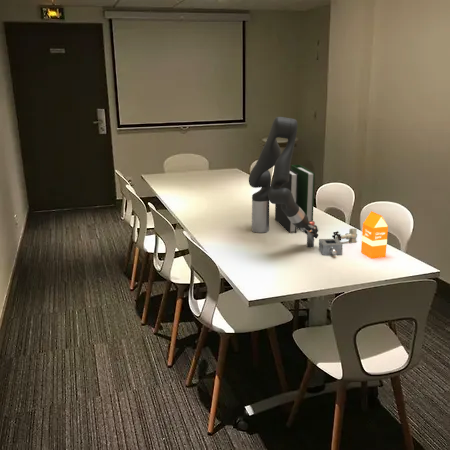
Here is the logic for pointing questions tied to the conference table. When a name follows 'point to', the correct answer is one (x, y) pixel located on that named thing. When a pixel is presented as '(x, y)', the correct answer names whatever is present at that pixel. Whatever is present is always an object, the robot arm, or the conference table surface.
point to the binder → (298, 195)
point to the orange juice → (374, 236)
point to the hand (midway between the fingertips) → (313, 235)
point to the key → (310, 237)
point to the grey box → (330, 247)
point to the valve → (347, 235)
